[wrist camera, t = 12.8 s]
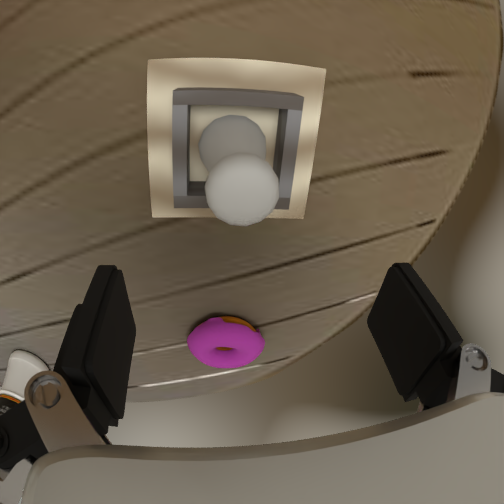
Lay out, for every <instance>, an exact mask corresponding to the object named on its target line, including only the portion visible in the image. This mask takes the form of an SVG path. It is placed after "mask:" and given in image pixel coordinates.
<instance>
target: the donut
mask: <svg viewBox="0 0 504 504" xmlns="http://www.w3.org/2000/svg"><path fill="white" fill-rule="evenodd" d="M256 331H257V332H256ZM187 344H188V347H189V349H190V351H191V352H192V354H193V355H194V356H195V357H196V358H197V359H198V360H200V361H201V362H202V363H204V364H206V365H209V366H212V367H216V368H236V367H241V366H244V365H247V364H249V363H250V362H252V361H253V360H254V359H256V358H257V357H258V356H259V354H260V353H261V352H262V350H263V348H264V344H265V341H264V339H263V338H262V336H261V334H260V331H259V329H256V330H255V329H254V328H253V327H252V326H251V325H250V324H249V323H248V322H246V321H244V320H242V319H239V318H236V317H231V316H222V317H216V318H210V319H208V320H207V321H205V322H203V323H202V324H200V325H198V326H197V327H196V328H195V329H194V330H193V332H192V333H191V334H190V335H189V336H188V338H187Z"/></svg>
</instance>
